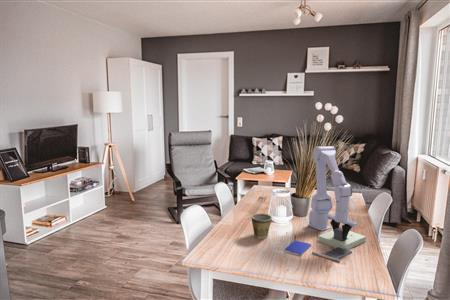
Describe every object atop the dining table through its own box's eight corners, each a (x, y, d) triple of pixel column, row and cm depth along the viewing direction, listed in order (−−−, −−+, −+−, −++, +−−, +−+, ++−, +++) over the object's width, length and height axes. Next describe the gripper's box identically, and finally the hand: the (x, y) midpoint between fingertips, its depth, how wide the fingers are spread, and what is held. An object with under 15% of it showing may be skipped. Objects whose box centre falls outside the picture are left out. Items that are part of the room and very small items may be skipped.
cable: (311, 253, 142) (312, 251, 142) (313, 252, 143) (313, 250, 143) (339, 262, 135) (339, 260, 134) (340, 261, 136) (340, 259, 135)
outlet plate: (318, 240, 156) (318, 235, 156) (340, 232, 167) (340, 227, 166) (343, 251, 145) (344, 245, 145) (365, 241, 155) (365, 236, 155)
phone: (325, 254, 142) (325, 252, 142) (339, 247, 148) (340, 245, 148) (336, 259, 137) (337, 257, 137) (351, 252, 143) (351, 250, 143)
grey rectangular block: (333, 240, 153) (334, 228, 152) (338, 238, 156) (339, 226, 155) (340, 243, 150) (341, 231, 149) (345, 241, 152) (346, 229, 151)
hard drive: (294, 239, 154) (283, 249, 144) (311, 244, 150) (300, 254, 140) (294, 242, 155) (283, 252, 145) (311, 247, 150) (300, 257, 140)
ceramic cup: (270, 241, 155) (271, 221, 153) (249, 239, 157) (250, 219, 155) (272, 230, 167) (272, 212, 166) (253, 229, 169) (253, 211, 168)
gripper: (323, 207, 154) (322, 234, 156) (351, 215, 143) (349, 244, 145) (332, 204, 158) (331, 230, 160) (359, 212, 147) (357, 240, 149)
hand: (340, 237), depth 153 cm, fingers closed on grey rectangular block, 4 cm apart
